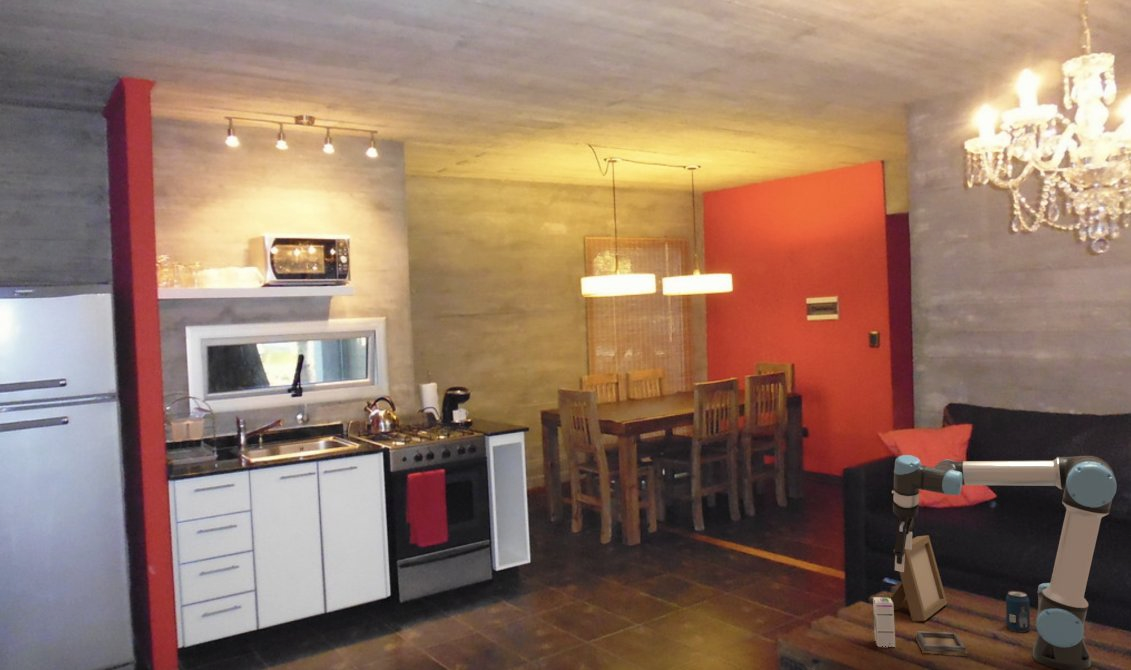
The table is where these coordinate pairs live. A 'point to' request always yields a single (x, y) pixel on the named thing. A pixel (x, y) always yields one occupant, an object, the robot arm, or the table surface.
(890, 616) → the syrup box
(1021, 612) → the soda can
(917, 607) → the photo frame
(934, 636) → the tray
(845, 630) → the table surface
